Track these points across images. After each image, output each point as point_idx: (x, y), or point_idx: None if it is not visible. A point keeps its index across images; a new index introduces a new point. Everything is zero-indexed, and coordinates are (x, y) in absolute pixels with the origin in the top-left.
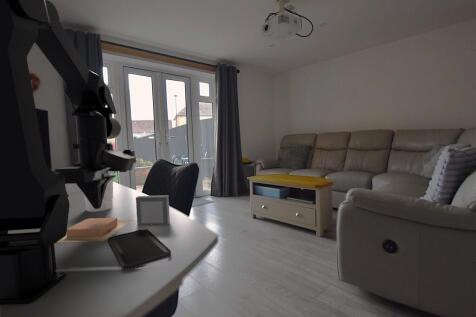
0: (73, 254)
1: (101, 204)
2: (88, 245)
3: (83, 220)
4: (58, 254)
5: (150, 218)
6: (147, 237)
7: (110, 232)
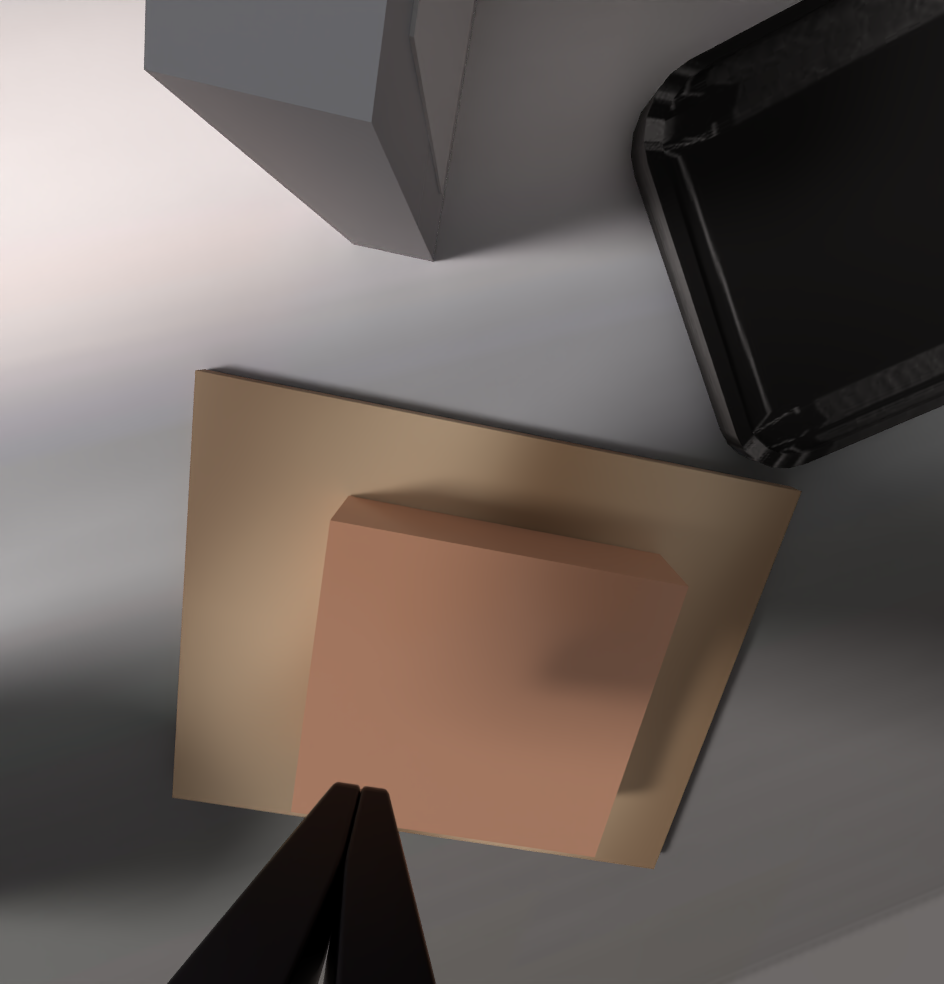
0: (910, 635)
1: (314, 809)
2: (774, 593)
3: None
4: (860, 726)
5: (465, 15)
6: (920, 34)
7: (575, 499)
